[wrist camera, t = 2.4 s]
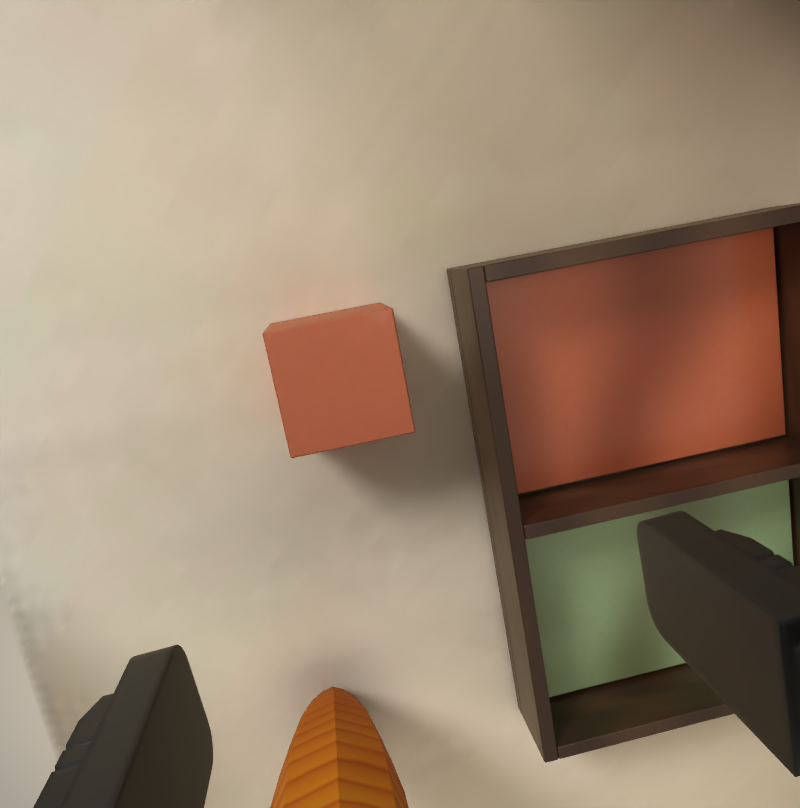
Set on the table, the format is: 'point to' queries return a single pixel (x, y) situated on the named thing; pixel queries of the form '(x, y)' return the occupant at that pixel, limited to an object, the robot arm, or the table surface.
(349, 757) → the carrot
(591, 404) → the sorting tray
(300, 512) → the table surface
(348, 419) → the terracotta block
